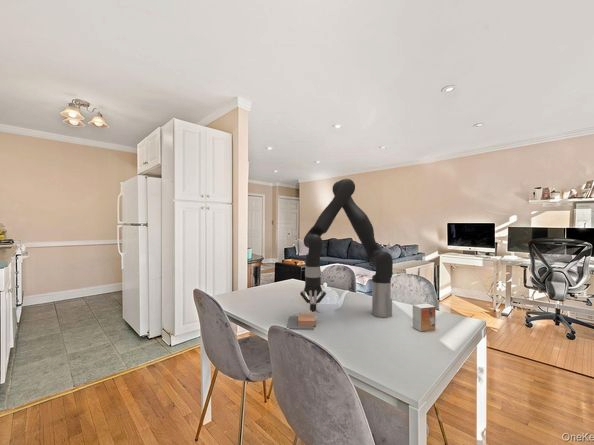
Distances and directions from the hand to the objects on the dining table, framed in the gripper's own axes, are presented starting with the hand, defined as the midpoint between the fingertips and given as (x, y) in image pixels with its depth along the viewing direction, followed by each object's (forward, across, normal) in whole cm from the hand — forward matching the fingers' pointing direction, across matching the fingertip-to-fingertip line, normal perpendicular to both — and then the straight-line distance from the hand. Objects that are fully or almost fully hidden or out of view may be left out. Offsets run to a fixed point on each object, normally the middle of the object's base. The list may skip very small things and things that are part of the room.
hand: (313, 311), depth 128 cm
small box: (+6, -50, +6) cm, 51 cm away
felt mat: (+6, +6, 0) cm, 8 cm away
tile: (+4, -1, 0) cm, 4 cm away
